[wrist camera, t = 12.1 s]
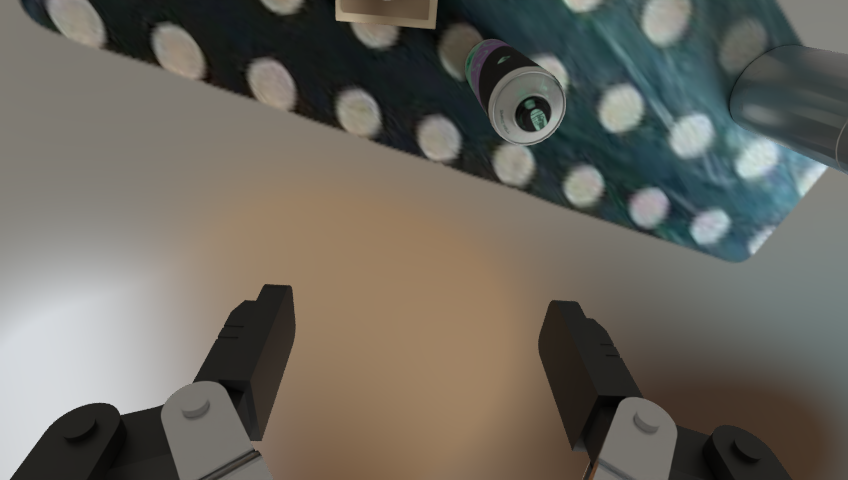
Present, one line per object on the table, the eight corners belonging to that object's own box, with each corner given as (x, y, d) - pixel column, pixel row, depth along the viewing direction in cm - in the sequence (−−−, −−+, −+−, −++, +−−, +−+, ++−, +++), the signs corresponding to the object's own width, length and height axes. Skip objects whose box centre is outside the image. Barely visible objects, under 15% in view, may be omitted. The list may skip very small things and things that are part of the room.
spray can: (482, 28, 43) (528, 59, 26) (525, 55, 45) (596, 102, 28) (454, 77, 46) (481, 136, 29) (497, 102, 47) (545, 171, 30)
